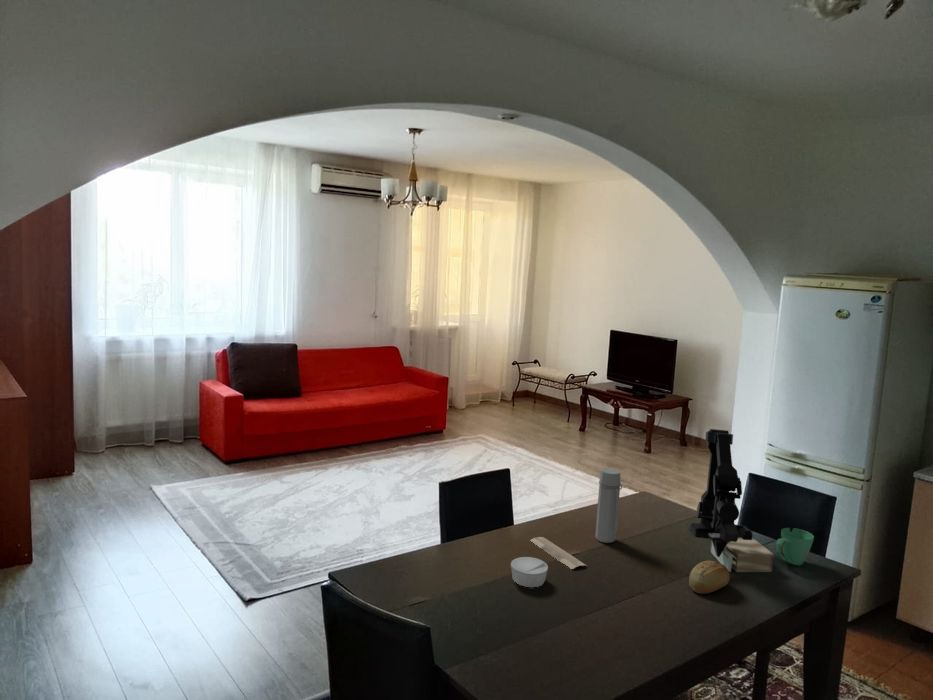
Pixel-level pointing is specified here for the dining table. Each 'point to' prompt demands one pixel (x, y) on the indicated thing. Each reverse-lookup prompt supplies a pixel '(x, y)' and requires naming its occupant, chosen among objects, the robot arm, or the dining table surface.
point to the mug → (794, 545)
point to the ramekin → (529, 571)
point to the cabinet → (750, 556)
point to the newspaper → (557, 552)
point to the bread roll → (708, 577)
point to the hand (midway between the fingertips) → (717, 556)
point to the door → (723, 557)
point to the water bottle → (608, 505)
